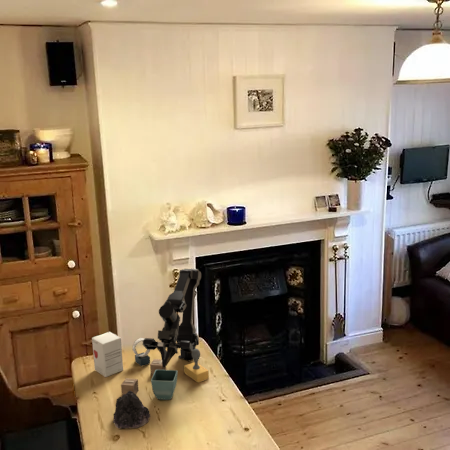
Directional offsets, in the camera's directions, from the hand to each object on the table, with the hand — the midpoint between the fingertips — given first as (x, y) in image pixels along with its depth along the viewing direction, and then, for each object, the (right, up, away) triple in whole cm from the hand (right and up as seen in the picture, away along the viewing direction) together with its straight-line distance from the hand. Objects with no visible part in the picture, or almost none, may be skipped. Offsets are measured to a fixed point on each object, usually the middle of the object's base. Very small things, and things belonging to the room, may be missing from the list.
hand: (164, 367), depth 216 cm
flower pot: (0, -12, +3) cm, 13 cm away
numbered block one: (-14, -12, +6) cm, 19 cm away
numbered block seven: (-5, -8, +21) cm, 23 cm away
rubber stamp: (+11, -8, +18) cm, 23 cm away
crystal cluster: (-10, -16, -12) cm, 22 cm away
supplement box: (-26, -8, +25) cm, 36 cm away
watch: (-12, -6, +31) cm, 33 cm away
